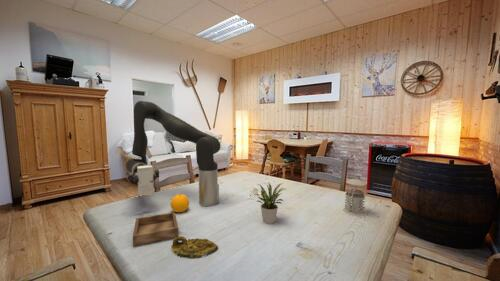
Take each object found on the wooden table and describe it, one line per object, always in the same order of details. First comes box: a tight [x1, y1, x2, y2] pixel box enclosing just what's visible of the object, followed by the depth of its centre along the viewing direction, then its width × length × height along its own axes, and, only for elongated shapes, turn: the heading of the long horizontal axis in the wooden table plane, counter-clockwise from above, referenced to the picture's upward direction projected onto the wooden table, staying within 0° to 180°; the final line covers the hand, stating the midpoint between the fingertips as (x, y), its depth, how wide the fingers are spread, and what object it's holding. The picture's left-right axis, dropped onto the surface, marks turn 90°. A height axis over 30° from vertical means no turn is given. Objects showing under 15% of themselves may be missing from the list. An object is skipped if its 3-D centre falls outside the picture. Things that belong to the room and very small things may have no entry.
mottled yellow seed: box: [170, 236, 219, 259], centre depth 68 cm, size 9×5×15 cm
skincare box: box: [137, 164, 155, 196], centre depth 93 cm, size 6×4×12 cm
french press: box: [342, 158, 367, 218], centre depth 95 cm, size 10×12×25 cm
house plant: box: [255, 181, 286, 225], centre depth 87 cm, size 14×14×16 cm
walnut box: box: [132, 211, 179, 248], centre depth 77 cm, size 14×14×4 cm
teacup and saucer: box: [250, 186, 261, 198], centre depth 118 cm, size 9×8×4 cm
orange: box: [170, 193, 190, 213], centre depth 96 cm, size 8×8×8 cm
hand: (146, 179), depth 91 cm, fingers closed on skincare box, 6 cm apart
